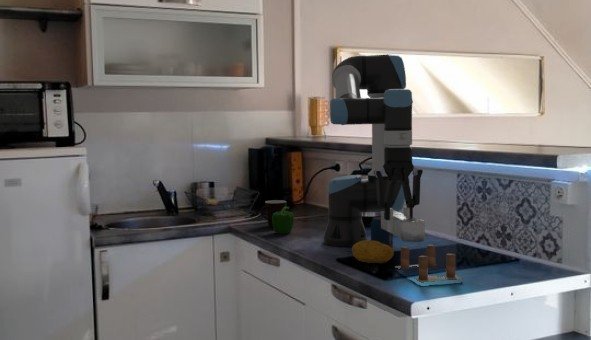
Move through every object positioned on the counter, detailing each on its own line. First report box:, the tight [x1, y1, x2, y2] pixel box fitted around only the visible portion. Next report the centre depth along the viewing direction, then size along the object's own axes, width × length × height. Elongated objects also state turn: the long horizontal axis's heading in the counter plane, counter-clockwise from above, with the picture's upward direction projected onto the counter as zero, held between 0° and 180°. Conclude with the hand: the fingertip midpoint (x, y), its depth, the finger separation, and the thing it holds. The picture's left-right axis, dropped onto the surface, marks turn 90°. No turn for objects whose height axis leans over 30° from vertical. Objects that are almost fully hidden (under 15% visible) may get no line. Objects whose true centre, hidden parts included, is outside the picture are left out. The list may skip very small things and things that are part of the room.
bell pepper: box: [272, 206, 295, 235], centre depth 244 cm, size 8×8×10 cm
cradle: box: [394, 244, 463, 283], centre depth 177 cm, size 18×12×7 cm, turn 14°
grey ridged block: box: [380, 210, 426, 243], centre depth 174 cm, size 22×6×5 cm, turn 11°
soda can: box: [370, 215, 394, 250], centre depth 205 cm, size 7×7×12 cm
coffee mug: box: [260, 199, 287, 229], centre depth 259 cm, size 12×9×10 cm
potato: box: [351, 239, 395, 264], centre depth 194 cm, size 8×14×7 cm, turn 43°
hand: (398, 231), depth 177 cm, fingers closed on grey ridged block, 4 cm apart
